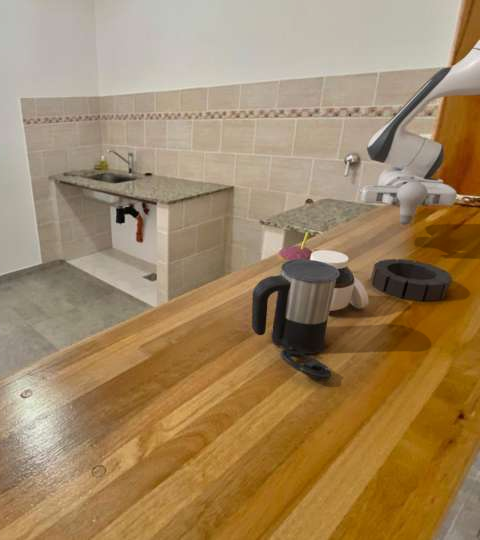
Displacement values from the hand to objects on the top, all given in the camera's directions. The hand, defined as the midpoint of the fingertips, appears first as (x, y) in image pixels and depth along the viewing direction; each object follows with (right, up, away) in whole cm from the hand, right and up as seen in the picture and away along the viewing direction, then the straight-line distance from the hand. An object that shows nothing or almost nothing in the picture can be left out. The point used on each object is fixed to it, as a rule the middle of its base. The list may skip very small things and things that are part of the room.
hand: (410, 202), depth 95 cm
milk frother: (-40, -32, -27) cm, 58 cm away
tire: (-6, -21, -7) cm, 23 cm away
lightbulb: (+1, -5, +3) cm, 6 cm away
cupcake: (-28, -18, +3) cm, 33 cm away
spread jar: (-27, -25, -13) cm, 39 cm away
